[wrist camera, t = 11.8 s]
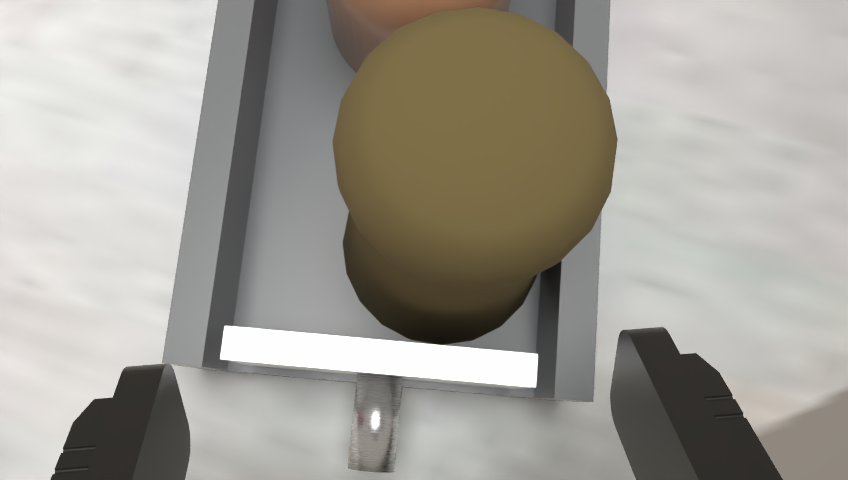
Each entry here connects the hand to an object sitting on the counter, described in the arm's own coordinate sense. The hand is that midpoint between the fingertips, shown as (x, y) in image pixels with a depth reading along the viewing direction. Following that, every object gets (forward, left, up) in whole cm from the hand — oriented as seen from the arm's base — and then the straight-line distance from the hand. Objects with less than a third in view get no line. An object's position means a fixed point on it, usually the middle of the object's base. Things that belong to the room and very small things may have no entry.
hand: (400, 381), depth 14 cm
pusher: (0, +1, -9) cm, 9 cm away
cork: (-1, -4, -9) cm, 10 cm away
